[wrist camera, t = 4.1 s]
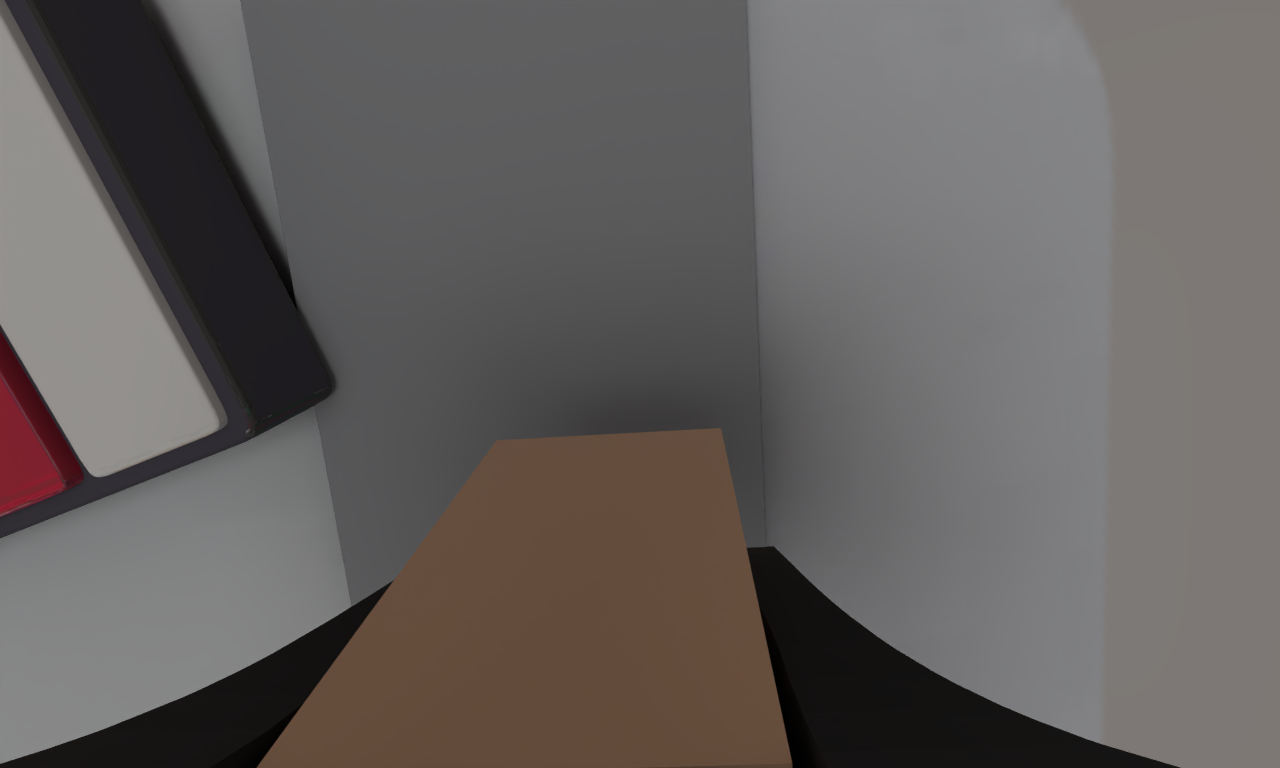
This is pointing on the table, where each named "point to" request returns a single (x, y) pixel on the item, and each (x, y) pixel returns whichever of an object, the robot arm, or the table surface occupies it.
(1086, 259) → the table surface
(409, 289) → the mat
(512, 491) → the block
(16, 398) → the calculator
